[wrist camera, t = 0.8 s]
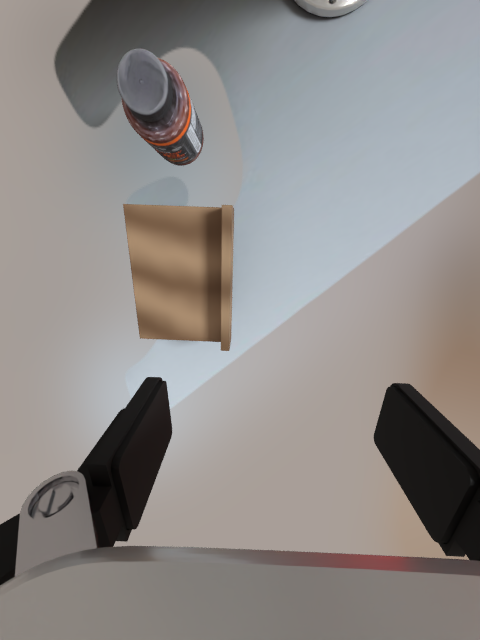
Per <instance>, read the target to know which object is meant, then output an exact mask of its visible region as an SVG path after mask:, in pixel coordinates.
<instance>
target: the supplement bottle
mask: <svg viewBox="0 0 480 640" xmlns="http://www.w3.org/2000/svg"><path fill="white" fill-rule="evenodd" d="M117 86H118V90H119V93H120V95H121V97H122V105H123V108H124V111H125V114H126V117H127V119H128V121H129V123H130V124H131V126H132V127H133V128H134V130H135V131H136V132H137V133H138V134H139V135H140V136H141V137H142V138H143V139H144V140H145V141H146V142H147V143H149V144H150V145H151V146H152V147H153V148H154V149H155V150H156V151H157V152H158V153H159V154H160V155H161V156H162V157H163V158H164V159H166V160H167V161H169V162H170V163H173V164H175V165H187V164H190V163H191V162H193V161H194V160H195V159H196V158H197V157H198V156H199V154H200V152H201V149H202V146H203V130H202V127H201V124H200V121H199V119H198V116H197V114H196V111H195V108H194V106H193V104H192V101H191V98H190V96H189V93H188V91H187V89H186V86H185V84H184V82H183V80H182V78H181V77H180V75H179V74H178V72H177V71H176V70H175V69H174V68H173V67H172V66H171V65H170V64H169V63H167V62H166V61H164V60H162V59H159V58H157V57H156V56H155V55H154V54H153V53H151V52H150V51H148V50H145V49H142V48H138V49H132V50H130V51H128V52H127V53H126V54H125V55H124V56H123V57H122V59H121V60H120V63H119V65H118V69H117Z"/></svg>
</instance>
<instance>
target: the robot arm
mask: <svg viewBox="0 0 480 640" xmlns="http://www.w3.org/2000/svg"><path fill="white" fill-rule="evenodd" d="M294 1H295V2H296V3H297V4H298V5H299V6H301V7H302V8H303V9H305V10H306V11H308V12H310V13H312V14H315V15H318V16H324V17H335V16H340V15H344V14H347V13H349V12H351V11H354V10H355V9H357V8H358V7H360V6H361V5H363V4H364V3H365V2H367V1H368V0H294ZM171 435H172V424H171V416H170V408H169V400H168V392H167V384H166V381H162V378H161V377H147V378H146V379H145V380H144V382H143V383H142V385H141V386H140V388H139V389H138V390H137V392H136V393H135V395H134V396H133V398H132V399H131V401H130V402H129V403H128V405H127V407H126V408H125V409H123V410H121V411H120V412H119V413H118V414H117V416H116V417H115V419H114V420H113V421H112V423H111V424H110V426H109V427H108V428H107V430H106V431H105V433H104V434H103V435H102V437H101V438H100V440H99V441H98V442H97V444H96V445H95V447H94V448H93V449H92V451H91V452H90V454H89V455H88V456H87V458H86V459H85V461H84V462H83V464H82V465H81V466H80V468H79V469H78V470H77V471H67V472H62V473H59V474H57V475H54V476H52V477H50V478H49V479H47V480H45V481H44V482H43V483H41V484H40V485H39V486H38V487H36V488H35V489H34V490H33V491H32V493H31V494H30V495H29V496H28V497H27V499H26V500H25V502H24V504H23V505H22V509H21V512H20V514H18V515H16V516H14V517H13V518H11V519H9V520H8V521H6V522H4V523H2V524H1V525H0V640H480V450H479V449H478V448H477V447H476V446H475V445H474V444H473V443H472V442H471V441H469V439H468V438H467V437H465V436H464V435H463V434H462V433H461V432H460V431H459V430H458V429H457V428H456V427H455V426H454V425H453V424H452V423H451V422H450V421H449V420H447V418H445V417H444V416H443V415H442V414H441V413H440V412H439V411H438V410H437V409H436V408H435V407H434V406H433V405H432V404H430V403H429V402H428V401H427V400H426V399H425V398H424V397H423V396H422V395H421V394H420V393H419V392H418V391H416V389H414V387H413V386H411V385H410V384H402V383H401V384H400V383H394V384H392V385H391V386H390V387H388V388H387V390H386V393H385V397H384V401H383V405H382V408H381V411H380V415H379V419H378V422H377V426H376V430H375V433H374V442H375V444H376V446H377V448H378V449H379V451H380V453H381V454H382V456H383V458H384V459H385V461H386V463H387V464H388V466H389V468H390V469H391V471H392V473H393V474H394V476H395V478H396V479H397V481H398V483H399V484H400V486H401V488H402V489H403V491H404V493H405V494H406V496H407V498H408V500H409V501H410V503H411V504H412V506H413V508H414V510H415V511H416V513H417V515H418V516H419V518H420V520H421V521H422V523H423V524H424V526H425V528H426V530H427V531H428V533H429V534H430V536H431V538H432V539H433V540H434V541H435V542H438V543H439V545H440V546H441V548H442V550H443V551H444V553H445V554H446V556H461V557H464V556H465V554H466V555H467V557H468V558H469V560H460V559H441V558H422V557H403V556H402V557H401V556H382V555H362V554H342V553H319V552H296V551H275V550H250V549H224V548H199V547H156V546H122V547H113V546H114V543H115V541H127V540H128V538H129V535H130V533H131V530H132V529H136V528H137V526H138V524H139V522H140V519H141V517H142V514H143V511H144V509H145V506H146V503H147V501H148V498H149V495H150V493H151V490H152V487H153V485H154V482H155V479H156V476H157V474H158V471H159V469H160V466H161V463H162V460H163V458H164V455H165V453H166V450H167V447H168V444H169V442H170V439H171Z"/></svg>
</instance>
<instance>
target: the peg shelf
mask: <svg viewBox="0 0 480 640" xmlns="http://www.w3.org/2000/svg"><path fill="white" fill-rule="evenodd" d="M123 207H124V215H125V223H126V231H127V239H128V247H129V254H130V262H131V270H132V279H133V287H134V295H135V302H136V310H137V318H138V326H139V334H140V338H144V339H145V338H146V339H167V340H190V341H213V342H221V350H222V351H229V349H230V342H231V320H232V277H233V233H234V208H233V206H232V205H222V208H218V207H216V208H215V207H189V206H161V205H132V204H123Z"/></svg>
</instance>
